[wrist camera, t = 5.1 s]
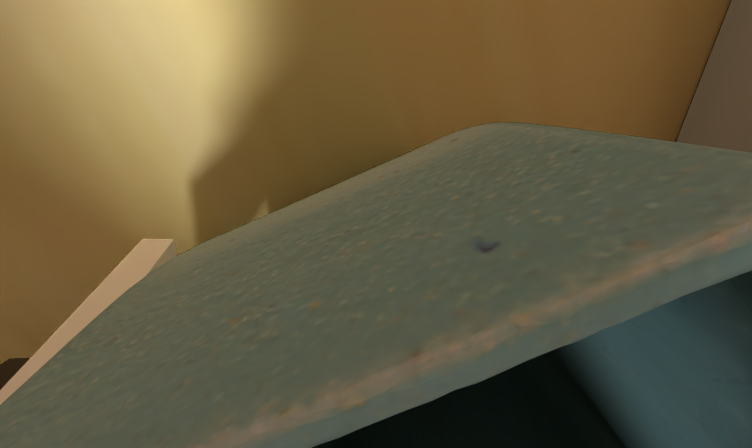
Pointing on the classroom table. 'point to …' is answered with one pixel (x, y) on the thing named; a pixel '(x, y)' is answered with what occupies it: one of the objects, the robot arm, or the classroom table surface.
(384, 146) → the classroom table surface
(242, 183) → the classroom table surface
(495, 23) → the classroom table surface
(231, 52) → the classroom table surface
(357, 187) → the flower pot
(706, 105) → the slate tray
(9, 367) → the robot arm
